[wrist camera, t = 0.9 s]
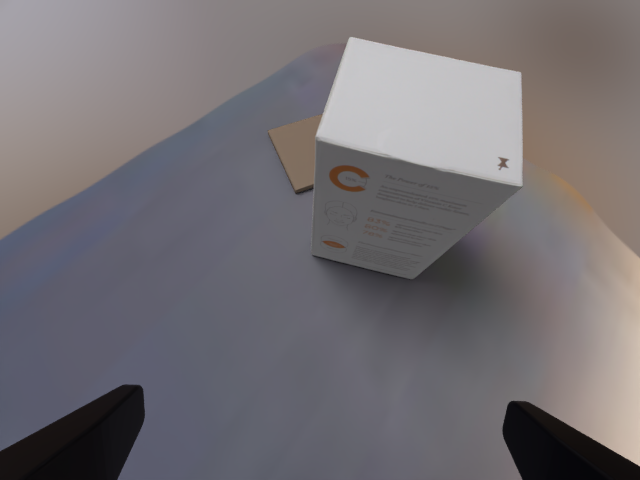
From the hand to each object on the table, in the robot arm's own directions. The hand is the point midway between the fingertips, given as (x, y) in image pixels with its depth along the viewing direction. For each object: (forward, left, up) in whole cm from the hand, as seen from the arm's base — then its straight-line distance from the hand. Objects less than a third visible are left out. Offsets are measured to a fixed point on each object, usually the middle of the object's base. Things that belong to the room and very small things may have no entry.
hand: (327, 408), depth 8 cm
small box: (+8, -8, -14) cm, 18 cm away
